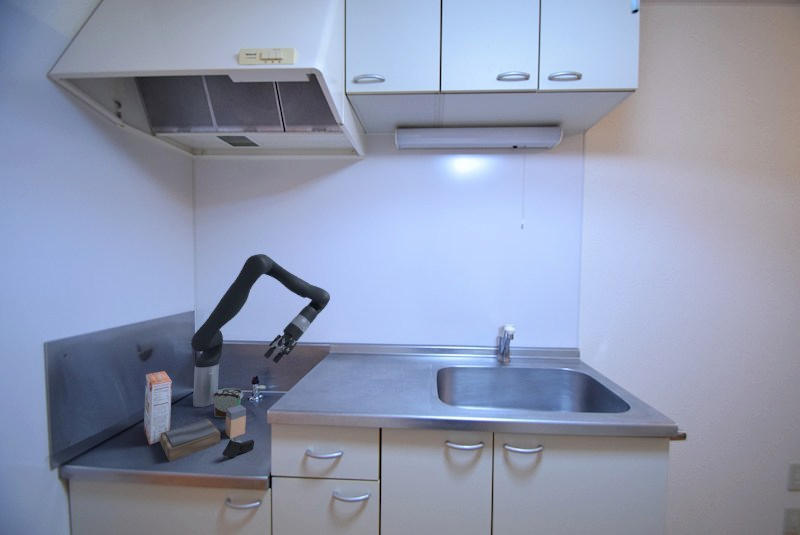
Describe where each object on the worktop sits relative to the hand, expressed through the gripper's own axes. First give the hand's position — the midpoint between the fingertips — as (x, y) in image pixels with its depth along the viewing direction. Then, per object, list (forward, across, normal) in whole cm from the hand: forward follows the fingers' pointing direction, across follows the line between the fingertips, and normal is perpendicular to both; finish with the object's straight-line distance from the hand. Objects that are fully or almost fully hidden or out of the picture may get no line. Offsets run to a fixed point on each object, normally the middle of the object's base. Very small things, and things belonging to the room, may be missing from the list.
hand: (269, 359), depth 117 cm
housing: (+26, 0, +9) cm, 28 cm away
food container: (+24, -17, +11) cm, 31 cm away
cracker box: (+40, -18, -6) cm, 45 cm away
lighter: (+29, +14, +7) cm, 33 cm away
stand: (+35, -4, 0) cm, 35 cm away
